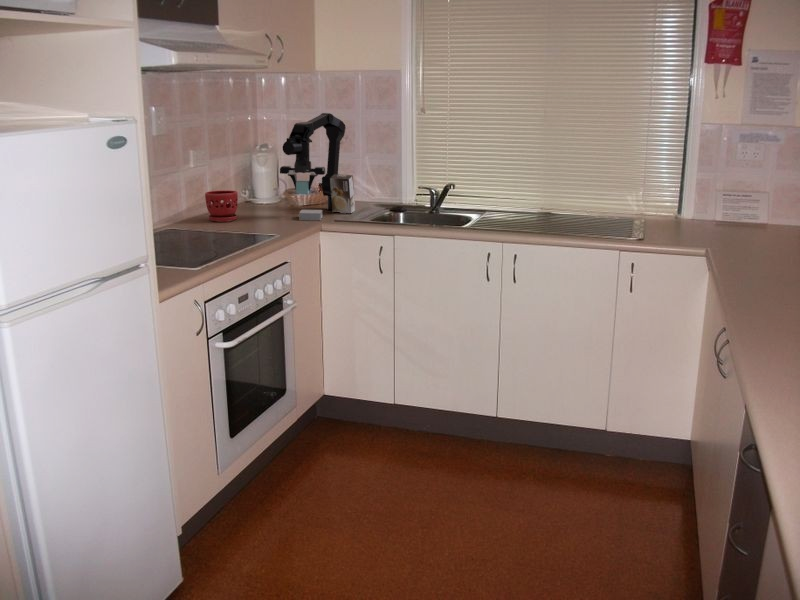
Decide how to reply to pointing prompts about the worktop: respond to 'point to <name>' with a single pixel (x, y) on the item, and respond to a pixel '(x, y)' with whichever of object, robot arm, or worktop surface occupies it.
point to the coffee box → (342, 193)
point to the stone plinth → (310, 215)
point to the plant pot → (222, 205)
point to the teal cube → (302, 187)
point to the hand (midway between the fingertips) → (302, 190)
